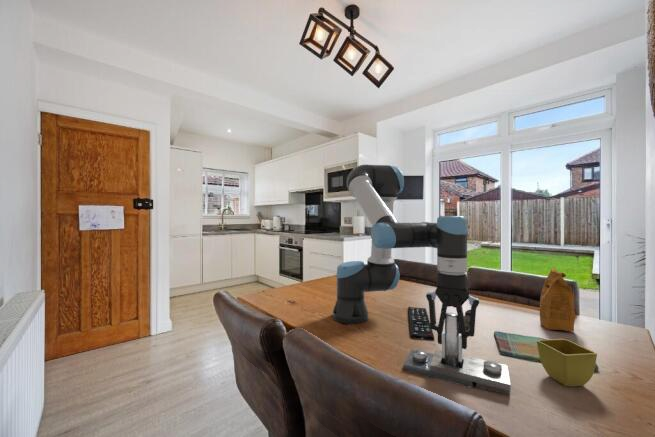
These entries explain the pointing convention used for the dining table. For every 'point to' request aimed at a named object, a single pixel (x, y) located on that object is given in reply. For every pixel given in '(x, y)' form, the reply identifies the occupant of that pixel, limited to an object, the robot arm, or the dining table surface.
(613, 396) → the dining table surface
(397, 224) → the robot arm
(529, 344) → the dish towel
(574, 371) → the flower pot
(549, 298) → the coffee package
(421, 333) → the remote control
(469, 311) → the hand tool
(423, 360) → the lower chain end
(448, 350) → the steel pin
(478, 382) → the grey block with knob
